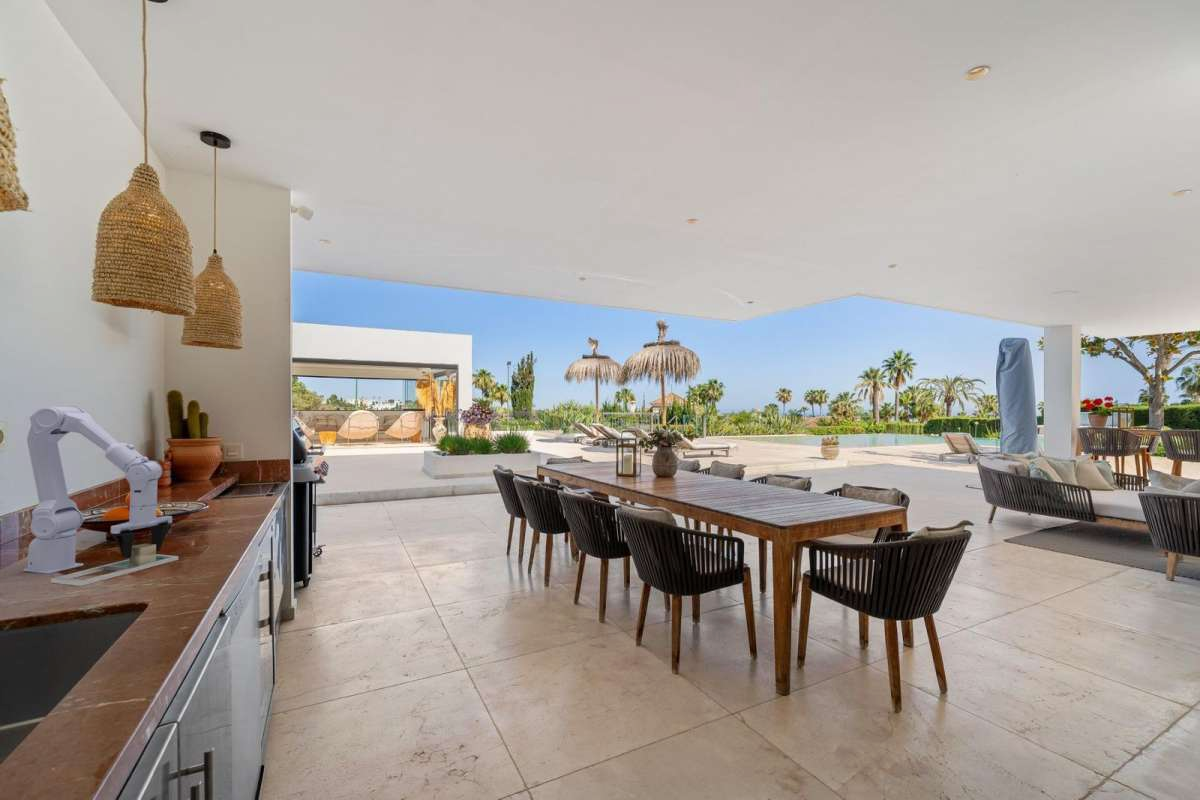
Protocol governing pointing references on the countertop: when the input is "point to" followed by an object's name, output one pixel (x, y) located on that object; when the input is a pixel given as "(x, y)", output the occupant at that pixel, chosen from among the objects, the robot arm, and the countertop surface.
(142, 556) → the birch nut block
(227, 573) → the countertop surface
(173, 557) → the rail frame
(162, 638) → the countertop surface
